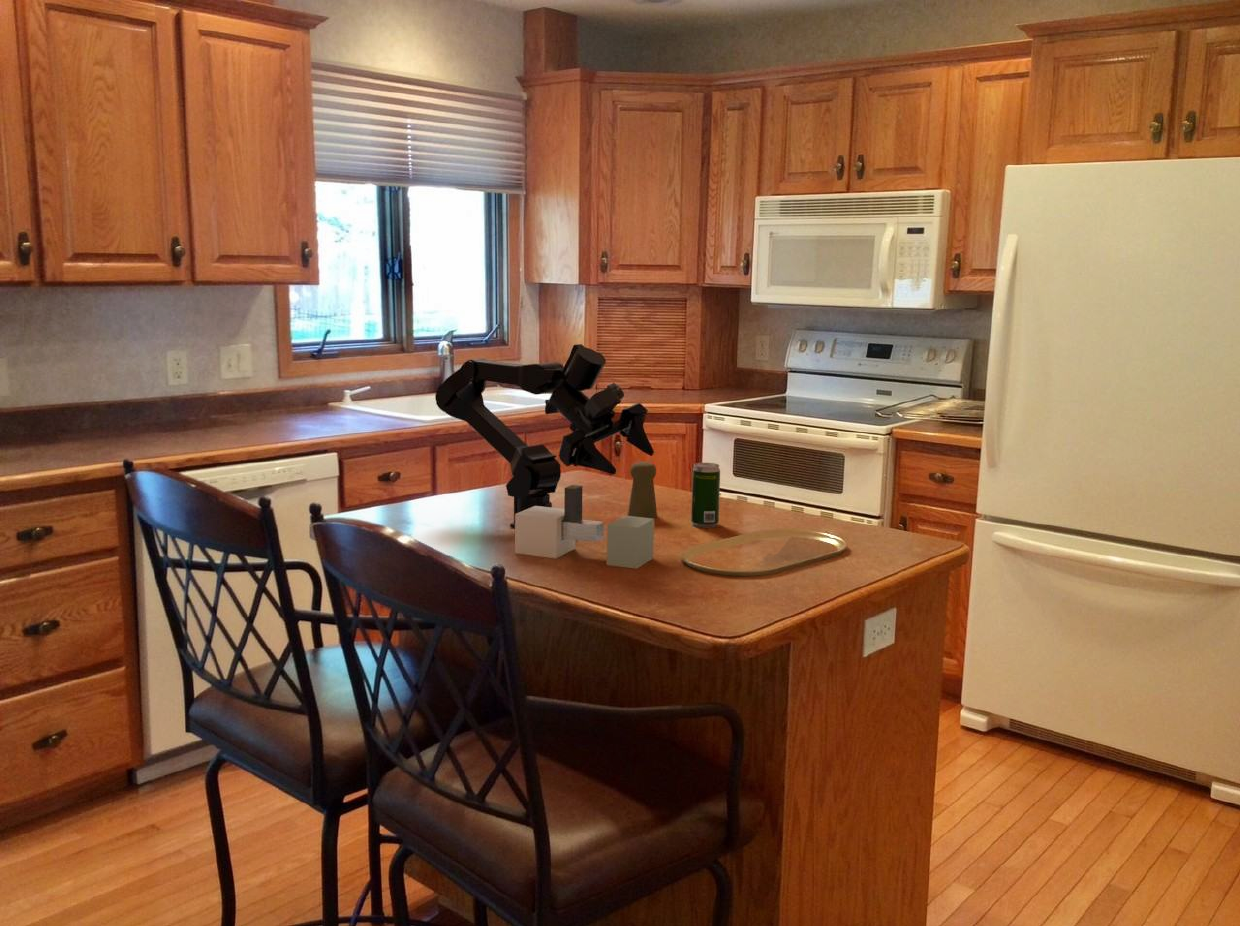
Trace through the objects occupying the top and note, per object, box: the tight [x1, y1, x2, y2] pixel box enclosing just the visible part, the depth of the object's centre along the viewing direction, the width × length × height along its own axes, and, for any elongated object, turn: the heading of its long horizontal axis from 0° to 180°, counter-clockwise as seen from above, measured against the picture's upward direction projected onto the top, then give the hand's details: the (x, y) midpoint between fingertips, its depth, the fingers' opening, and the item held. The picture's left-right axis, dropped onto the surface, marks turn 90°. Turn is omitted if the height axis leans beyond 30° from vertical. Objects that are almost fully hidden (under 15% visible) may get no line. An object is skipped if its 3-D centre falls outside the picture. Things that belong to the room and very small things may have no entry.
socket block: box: [606, 515, 655, 569], centre depth 184 cm, size 6×8×7 cm
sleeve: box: [514, 506, 576, 559], centre depth 191 cm, size 8×8×7 cm
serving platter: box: [680, 528, 848, 577], centre depth 191 cm, size 19×35×2 cm, turn 134°
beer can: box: [690, 462, 721, 529], centre depth 212 cm, size 5×5×12 cm
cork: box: [627, 461, 658, 519], centre depth 219 cm, size 6×6×11 cm
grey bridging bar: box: [561, 484, 605, 543], centre depth 189 cm, size 15×3×9 cm, turn 67°
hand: (634, 463), depth 192 cm, fingers open, 9 cm apart
